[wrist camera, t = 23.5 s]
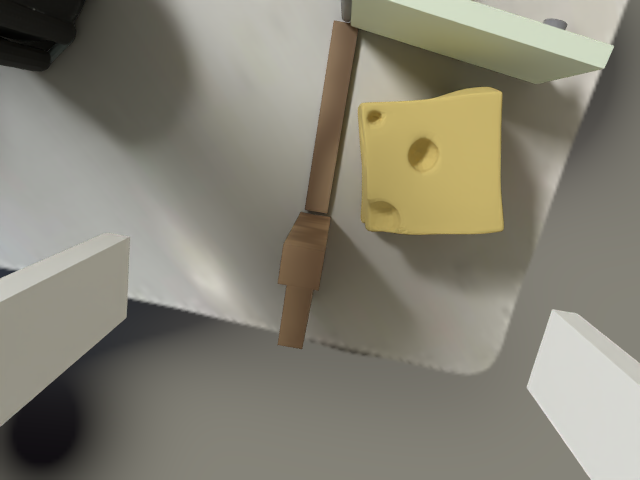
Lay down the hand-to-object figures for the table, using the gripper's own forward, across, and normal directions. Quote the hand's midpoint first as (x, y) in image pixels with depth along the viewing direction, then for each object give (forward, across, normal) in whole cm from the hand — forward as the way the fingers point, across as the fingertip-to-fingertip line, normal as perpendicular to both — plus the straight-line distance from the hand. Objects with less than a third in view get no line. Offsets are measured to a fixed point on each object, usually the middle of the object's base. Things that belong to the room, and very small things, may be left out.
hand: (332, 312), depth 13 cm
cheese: (+29, +6, +4) cm, 30 cm away
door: (+28, +6, +14) cm, 32 cm away
